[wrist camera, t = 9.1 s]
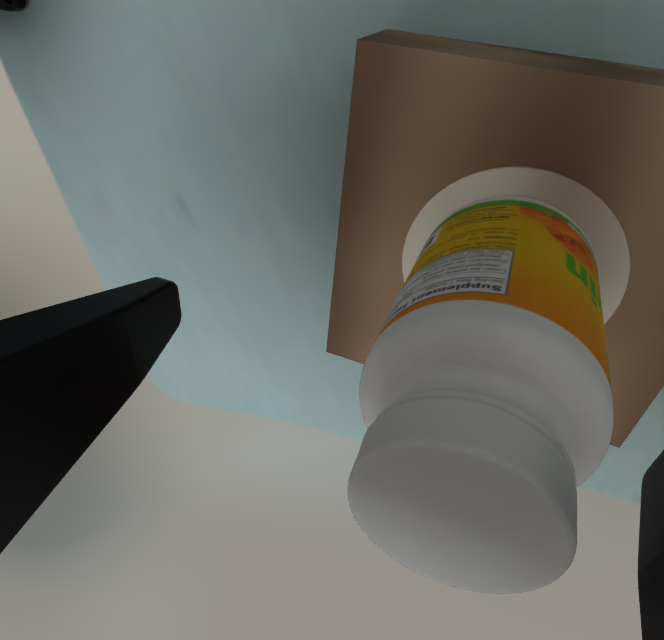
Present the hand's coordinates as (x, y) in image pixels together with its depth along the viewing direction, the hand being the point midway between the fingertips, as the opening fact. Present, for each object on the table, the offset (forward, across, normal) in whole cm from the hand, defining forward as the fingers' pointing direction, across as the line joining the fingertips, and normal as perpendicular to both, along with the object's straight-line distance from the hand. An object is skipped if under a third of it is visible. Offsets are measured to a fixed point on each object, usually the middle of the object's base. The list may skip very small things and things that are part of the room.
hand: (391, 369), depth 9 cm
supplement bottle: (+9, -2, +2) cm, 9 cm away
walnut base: (+12, -2, +2) cm, 12 cm away
